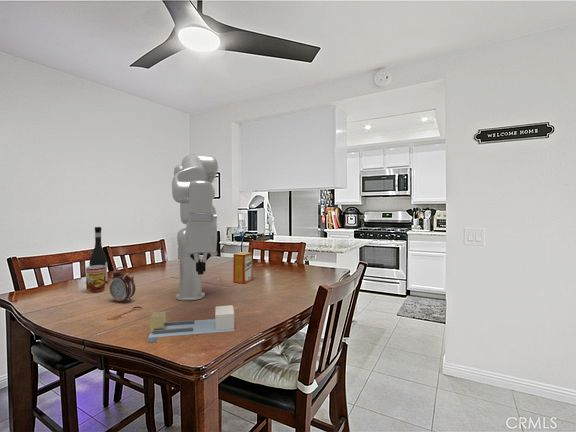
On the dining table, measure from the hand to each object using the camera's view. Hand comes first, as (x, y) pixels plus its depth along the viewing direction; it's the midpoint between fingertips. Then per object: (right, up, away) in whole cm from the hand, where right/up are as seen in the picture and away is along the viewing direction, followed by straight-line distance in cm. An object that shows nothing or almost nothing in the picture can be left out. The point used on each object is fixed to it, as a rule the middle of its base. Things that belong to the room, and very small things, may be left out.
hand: (200, 273), depth 104 cm
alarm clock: (-43, -18, +32) cm, 56 cm away
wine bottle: (-71, -17, +62) cm, 96 cm away
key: (-33, -19, +17) cm, 41 cm away
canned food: (-64, -17, +48) cm, 81 cm away
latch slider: (-13, -17, -2) cm, 22 cm away
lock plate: (-2, -19, 0) cm, 19 cm away
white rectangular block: (+7, -18, +2) cm, 19 cm away
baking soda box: (+4, -17, +70) cm, 72 cm away
